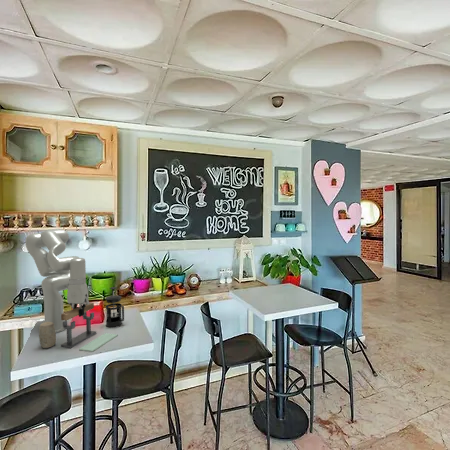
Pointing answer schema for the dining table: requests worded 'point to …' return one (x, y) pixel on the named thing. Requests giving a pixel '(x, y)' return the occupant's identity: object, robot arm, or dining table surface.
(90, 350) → the mat
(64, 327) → the rail stand
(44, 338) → the carving
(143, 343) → the dining table surface
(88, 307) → the bar
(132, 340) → the dining table surface
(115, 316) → the french press
